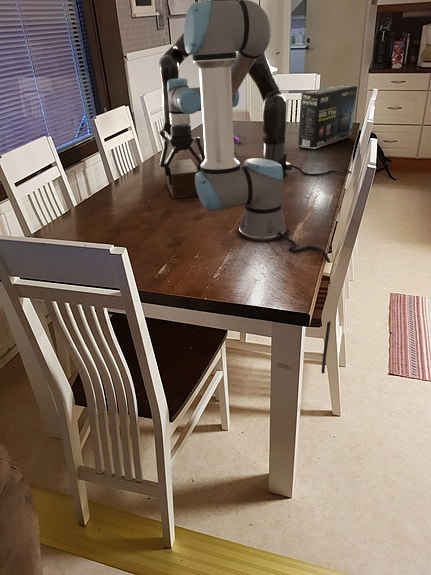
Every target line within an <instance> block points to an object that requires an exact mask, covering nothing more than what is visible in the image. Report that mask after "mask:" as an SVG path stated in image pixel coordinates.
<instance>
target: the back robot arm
mask: <svg viewBox="0 0 431 575" xmlns="http://www.w3.org/2000/svg"><path fill="white" fill-rule="evenodd" d="M210 1H231V0H210ZM190 56H191V55H190V54H188V53H187V52H186V50H185V44H184V32H183V33H182V34H181V35H180V36H179V37H178V39H177V40H176V41H175V43H174V44H173V45H172V46H171V47H170V48H169V49H168V50H166V51H165V52H164V54H163V55H161V57H160V58H159V61H158V66H159V70H160V76H161V96H162V97H161V98H162V102H161V103H162V104H161V105H162V116H163V126H162V129H160V130H159V131H158V134H159V135H160V137H162V139H163V140H171V124H170V112H169V101H168V92H167V82H168V80H170V79H176V78H180V77H179V76H180V70H179V68H180V67H179V66H181V64H182V63H183V62H184V61H185V60H186V59H187V58H189V57H190ZM271 69H272V68H271V66H270V63H269V60H268V58H267V56H266V53H265V52H264V54H263V55H262V56H261V57H259V58H257V59H256V60H255V62H254V63H253V65H252V67H251V69H250V70H249V72H248V74H247V75H248V76H249V77H250V78H251V80H252V81H253V83H254V84H255V85H256V87H257V89H258V91H259V94H260V97H261V100H262V103H263V106H262V107H263V108H262V110H263V111H262V159H267V160H272V161H275V162H277V163H279V164H280V165H281V166H282V169H283V176H286V175H287V174H286V173H287V171H292V169H293V168H294V169H296V170H298V171H299V172H300V173H301V174H302V175H305V176H310V177H311V176H313V177H317V176H325V175H327V174H331V173H338V172H340V171H335V170H336V169H333V170H328V171H325V172H319V173H318V172H317V173H308V172H305V171H303V170H302V169H301V167H298V166H296V165H293V163H291V162H288V161H287V152H285V150H286V130H287V129H286V128H287V107H288V106H287V105H288V104H287V99H286V97H285V95H284V94H283V92H282V91H281V88H280V87H279V86H278V84H277V82H276V80H275V78H274V76H273V72H272V70H271ZM166 134H167V135H168V136H169V138H168V137H167V136H166ZM170 145H171V149H172V148H173V145H172V144H171V143H170ZM179 152H180V151H179V150H177V152H176V153H175V154H178V153H179ZM339 169H340V170H344V171H343V172H347V173H348V174H350V175H351V174H353V172H351V171H350V170H349V169H346V168H339Z"/></svg>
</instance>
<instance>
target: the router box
mask: <svg viewBox="0 0 431 575" xmlns="http://www.w3.org/2000/svg"><path fill="white" fill-rule="evenodd" d="M357 93H358V86H356V85H350V84H339V85H338V84H337V85H334V86H328V87H324V88H318V89H314V90H309V91H304V92H301V93H300V109H299V110H300V111H299V124H298V137H297V146H298V145H302V146H307V147H317V146H320V145H323V144H325V143H328V142H331V141H333V140H336V139H338V138H341V137H344V136H347V135H351V136H352V133H353V132H352V131H353V125H354V115H355V109H356V99H357ZM311 151H313V150H312V149H311Z"/></svg>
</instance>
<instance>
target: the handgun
mask: <svg viewBox="0 0 431 575" xmlns="http://www.w3.org/2000/svg"><path fill="white" fill-rule="evenodd" d="M235 136H236V135H235ZM235 136H234V137H235ZM235 139H236V140H237V141H241V139H239V137H238V136H236V137H235ZM235 139H234V140H235ZM236 140H235V141H236ZM237 141H236V142H237ZM241 144H242V141H241V142H239V143H238V145H241Z"/></svg>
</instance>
